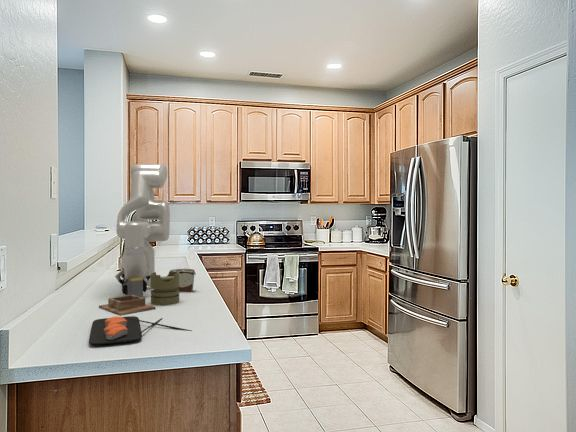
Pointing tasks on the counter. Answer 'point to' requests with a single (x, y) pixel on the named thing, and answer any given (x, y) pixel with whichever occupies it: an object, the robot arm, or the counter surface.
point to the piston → (165, 289)
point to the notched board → (126, 305)
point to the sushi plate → (119, 330)
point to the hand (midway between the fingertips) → (134, 292)
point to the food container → (185, 279)
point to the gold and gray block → (135, 287)
